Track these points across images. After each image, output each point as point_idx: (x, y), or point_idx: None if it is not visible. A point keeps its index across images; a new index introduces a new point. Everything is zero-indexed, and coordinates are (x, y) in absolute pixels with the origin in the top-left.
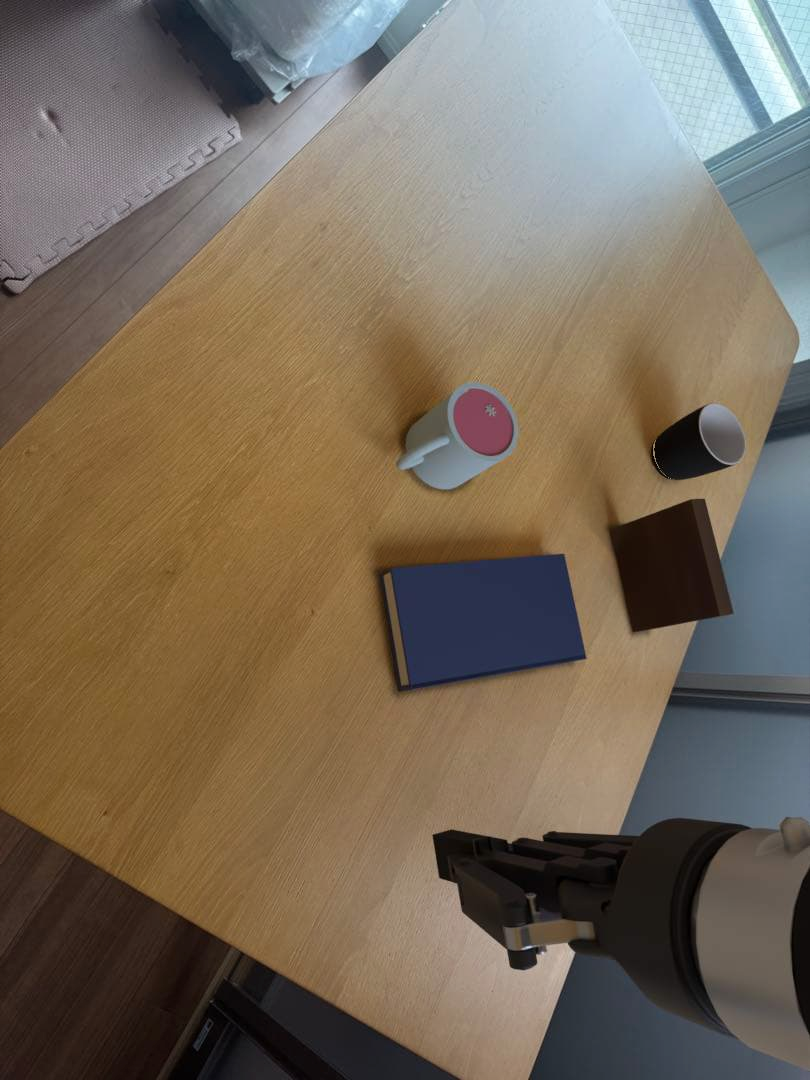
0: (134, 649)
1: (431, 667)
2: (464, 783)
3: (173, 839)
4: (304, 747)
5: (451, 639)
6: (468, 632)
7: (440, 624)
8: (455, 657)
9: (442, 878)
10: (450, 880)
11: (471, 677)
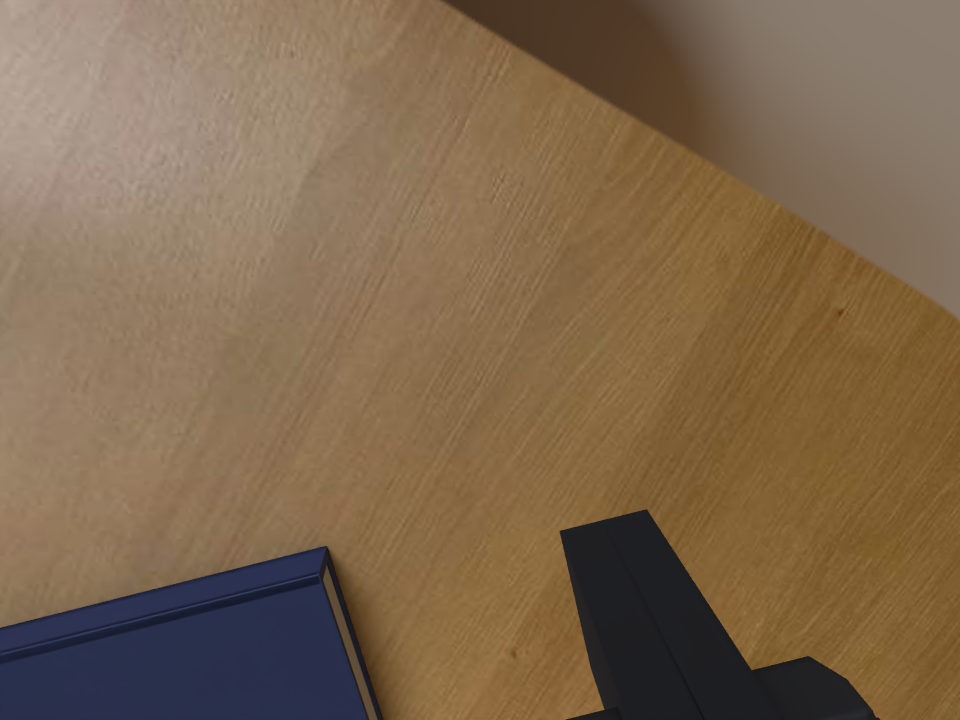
0: (806, 554)
1: (276, 620)
2: (149, 388)
3: (733, 273)
4: (510, 432)
5: (235, 677)
6: (195, 696)
7: (264, 699)
8: (221, 645)
9: (652, 522)
10: (674, 557)
11: (176, 613)
